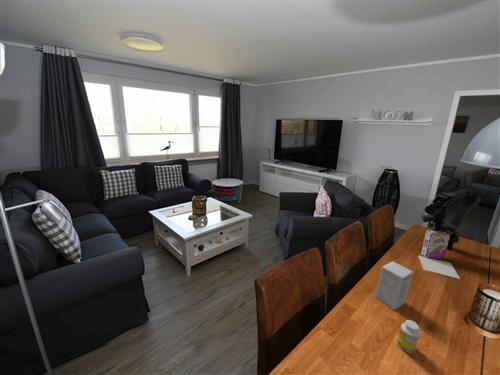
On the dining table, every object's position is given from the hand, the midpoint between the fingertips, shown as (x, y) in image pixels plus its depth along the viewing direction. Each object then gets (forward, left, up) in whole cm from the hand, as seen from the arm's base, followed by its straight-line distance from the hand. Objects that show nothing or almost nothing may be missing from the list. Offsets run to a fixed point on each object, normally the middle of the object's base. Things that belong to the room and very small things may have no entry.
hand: (433, 235), depth 147 cm
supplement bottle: (+88, -25, -11) cm, 92 cm away
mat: (+20, 0, -11) cm, 23 cm away
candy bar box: (+9, 0, -11) cm, 14 cm away
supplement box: (+64, -28, -11) cm, 71 cm away
